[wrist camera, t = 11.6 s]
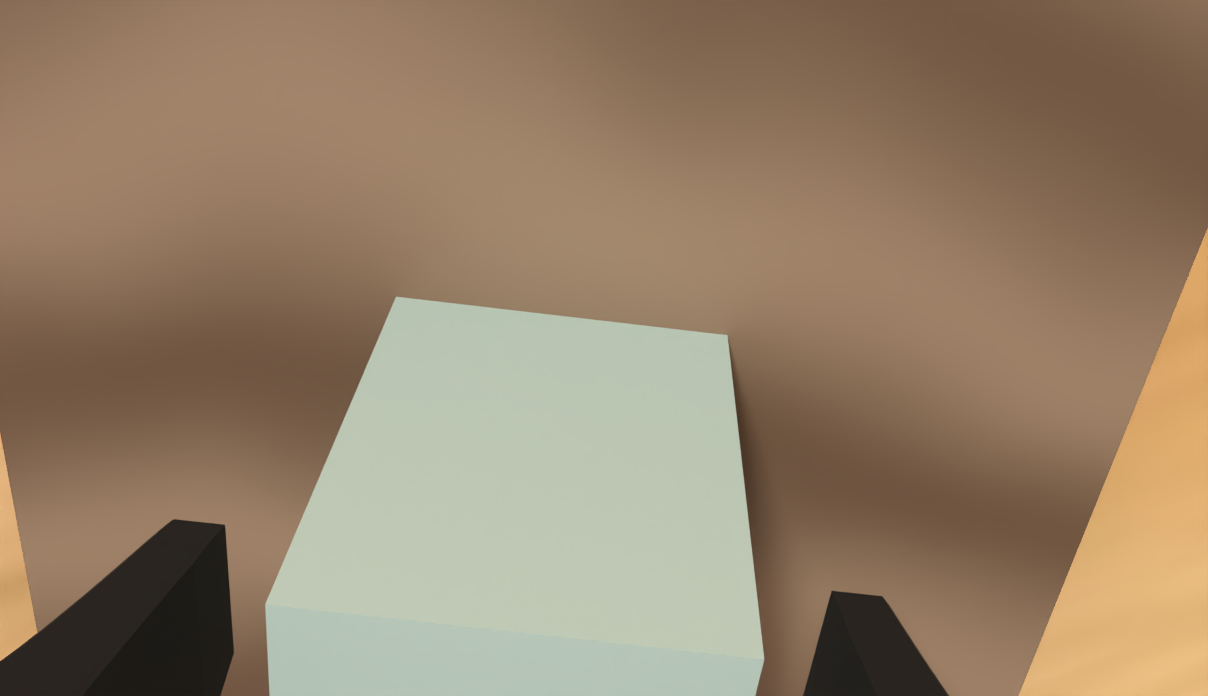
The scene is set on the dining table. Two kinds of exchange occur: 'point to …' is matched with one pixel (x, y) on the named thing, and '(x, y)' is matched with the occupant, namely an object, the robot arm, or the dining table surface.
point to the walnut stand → (606, 265)
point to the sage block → (525, 518)
